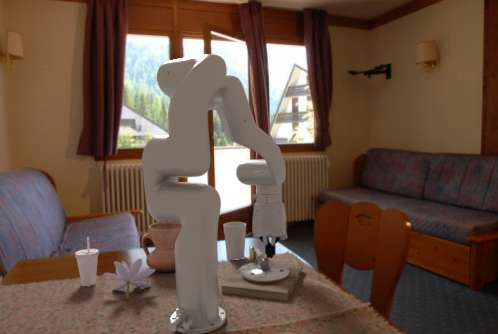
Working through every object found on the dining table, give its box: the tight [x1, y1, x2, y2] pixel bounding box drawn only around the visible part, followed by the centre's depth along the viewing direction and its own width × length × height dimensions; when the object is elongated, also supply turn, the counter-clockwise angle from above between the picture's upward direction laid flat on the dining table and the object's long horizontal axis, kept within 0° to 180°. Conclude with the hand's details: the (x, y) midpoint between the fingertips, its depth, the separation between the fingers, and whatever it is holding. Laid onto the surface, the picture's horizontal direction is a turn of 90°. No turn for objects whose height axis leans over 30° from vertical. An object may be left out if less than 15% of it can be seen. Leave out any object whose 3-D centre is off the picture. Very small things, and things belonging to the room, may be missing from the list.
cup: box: [223, 221, 247, 261], centre depth 129 cm, size 8×8×12 cm
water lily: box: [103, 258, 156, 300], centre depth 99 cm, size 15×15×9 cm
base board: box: [221, 259, 304, 302], centre depth 107 cm, size 22×18×2 cm
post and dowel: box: [248, 246, 270, 270], centre depth 111 cm, size 12×2×6 cm, turn 24°
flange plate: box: [241, 247, 289, 284], centre depth 109 cm, size 18×14×4 cm
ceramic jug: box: [140, 221, 182, 273], centre depth 120 cm, size 18×14×14 cm
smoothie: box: [74, 236, 100, 287], centre depth 107 cm, size 6×6×14 cm
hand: (270, 256), depth 115 cm, fingers closed
